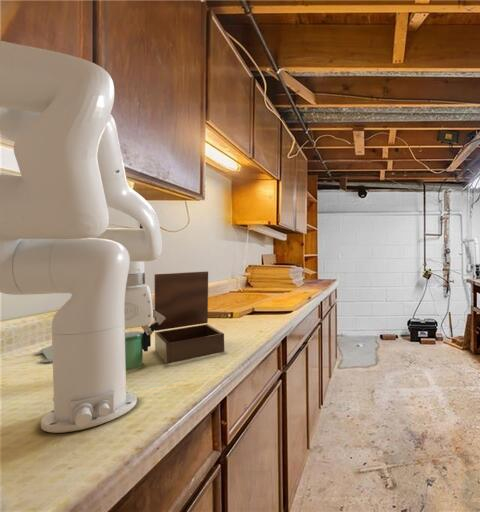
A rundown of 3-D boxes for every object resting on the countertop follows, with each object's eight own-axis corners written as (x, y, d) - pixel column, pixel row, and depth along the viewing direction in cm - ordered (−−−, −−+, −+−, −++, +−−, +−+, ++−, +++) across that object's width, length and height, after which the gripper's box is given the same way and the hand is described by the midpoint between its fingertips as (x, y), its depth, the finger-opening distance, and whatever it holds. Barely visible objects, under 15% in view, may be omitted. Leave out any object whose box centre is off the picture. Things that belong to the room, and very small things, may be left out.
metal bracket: (96, 323, 100) (108, 330, 91) (103, 339, 101) (116, 348, 92) (32, 346, 89) (38, 357, 80) (41, 364, 90) (48, 377, 81)
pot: (145, 366, 77) (145, 334, 77) (111, 374, 73) (110, 340, 73) (141, 360, 82) (141, 329, 82) (109, 366, 77) (108, 334, 77)
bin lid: (208, 271, 98) (207, 271, 98) (154, 274, 88) (154, 273, 89) (207, 323, 99) (206, 322, 100) (155, 331, 89) (154, 330, 90)
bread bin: (224, 354, 88) (224, 333, 88) (166, 366, 79) (166, 344, 79) (207, 342, 99) (207, 324, 99) (155, 352, 90) (154, 332, 90)
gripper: (76, 285, 68) (78, 367, 68) (171, 279, 80) (172, 349, 81) (75, 282, 73) (78, 358, 74) (165, 277, 85) (166, 342, 86)
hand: (127, 352), depth 77 cm, fingers closed on pot, 6 cm apart
